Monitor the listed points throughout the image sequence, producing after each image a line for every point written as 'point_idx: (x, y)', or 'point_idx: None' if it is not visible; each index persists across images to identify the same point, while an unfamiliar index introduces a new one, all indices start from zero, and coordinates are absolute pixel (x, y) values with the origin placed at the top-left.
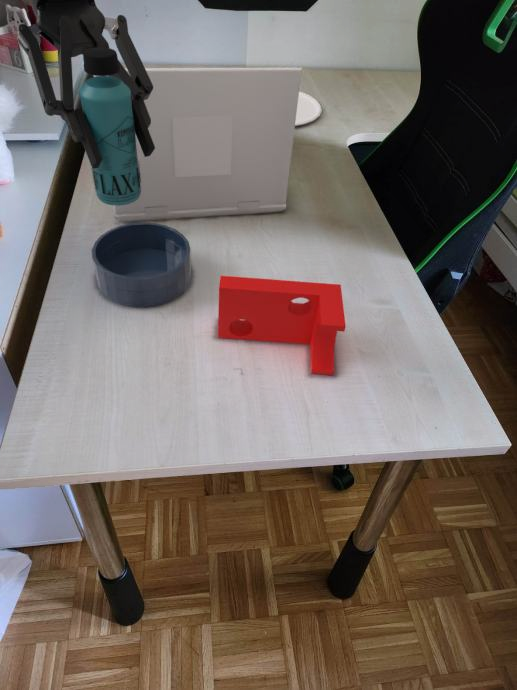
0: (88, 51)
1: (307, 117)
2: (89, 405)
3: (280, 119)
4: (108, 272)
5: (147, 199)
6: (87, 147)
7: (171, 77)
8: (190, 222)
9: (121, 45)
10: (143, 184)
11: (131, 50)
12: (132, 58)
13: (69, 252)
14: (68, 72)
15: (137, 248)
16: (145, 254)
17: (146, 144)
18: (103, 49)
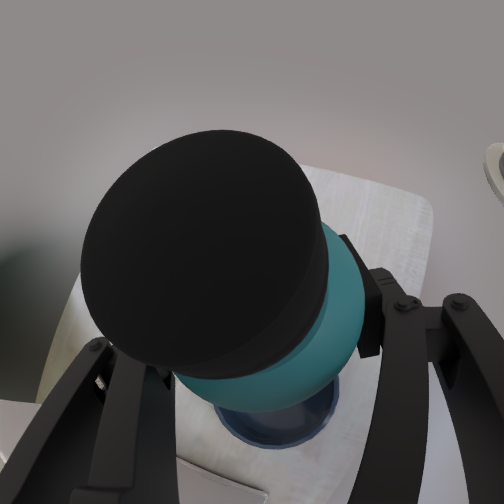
0: (261, 228)
1: None
2: (379, 232)
3: (23, 412)
4: None
5: (219, 488)
6: None
7: None
8: (186, 453)
9: (50, 490)
10: (214, 498)
11: (35, 436)
12: (55, 416)
13: (344, 461)
14: (393, 411)
15: (267, 435)
16: (263, 420)
17: None
18: (134, 228)
